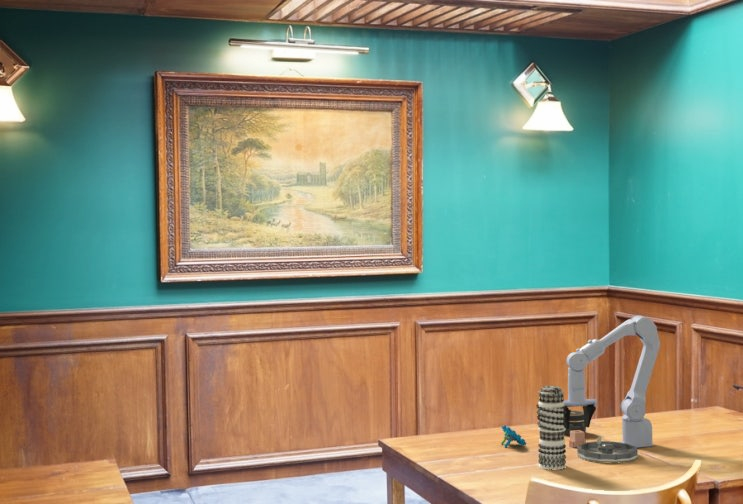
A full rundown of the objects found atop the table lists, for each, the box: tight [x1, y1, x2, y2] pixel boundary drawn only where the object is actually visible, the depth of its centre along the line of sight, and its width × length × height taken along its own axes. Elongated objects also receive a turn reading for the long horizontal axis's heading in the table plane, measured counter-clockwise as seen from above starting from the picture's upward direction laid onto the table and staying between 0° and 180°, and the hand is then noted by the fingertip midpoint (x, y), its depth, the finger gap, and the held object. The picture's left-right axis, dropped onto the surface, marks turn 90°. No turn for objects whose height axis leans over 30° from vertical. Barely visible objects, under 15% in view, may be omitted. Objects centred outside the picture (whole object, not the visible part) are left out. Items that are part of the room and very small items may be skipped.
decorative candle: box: [535, 385, 567, 471], centre depth 293 cm, size 9×9×25 cm
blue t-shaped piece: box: [500, 424, 527, 448], centre depth 322 cm, size 11×6×10 cm
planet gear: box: [568, 430, 587, 449], centre depth 320 cm, size 5×5×5 cm
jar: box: [564, 410, 587, 436], centre depth 340 cm, size 10×10×8 cm
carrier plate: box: [577, 436, 639, 464], centre depth 306 cm, size 19×19×5 cm
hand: (576, 427), depth 320 cm, fingers open, 7 cm apart
